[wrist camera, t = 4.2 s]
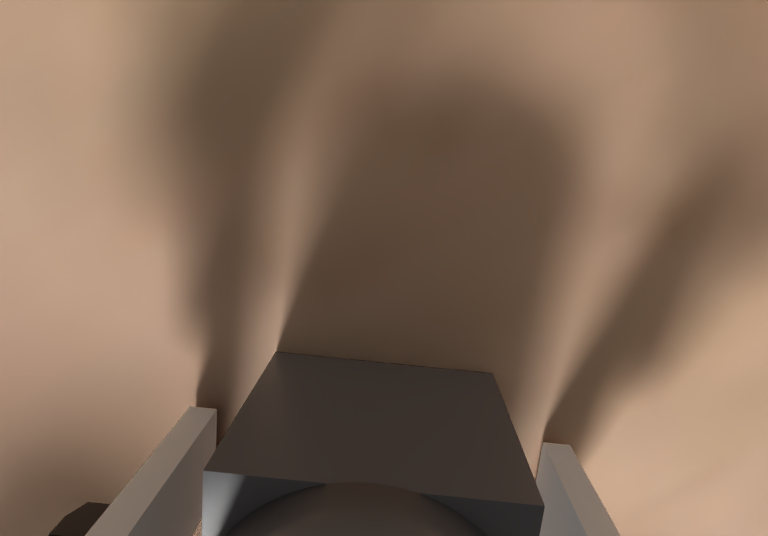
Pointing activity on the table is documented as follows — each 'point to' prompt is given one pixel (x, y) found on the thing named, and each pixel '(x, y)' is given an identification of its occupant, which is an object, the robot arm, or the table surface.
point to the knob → (370, 455)
